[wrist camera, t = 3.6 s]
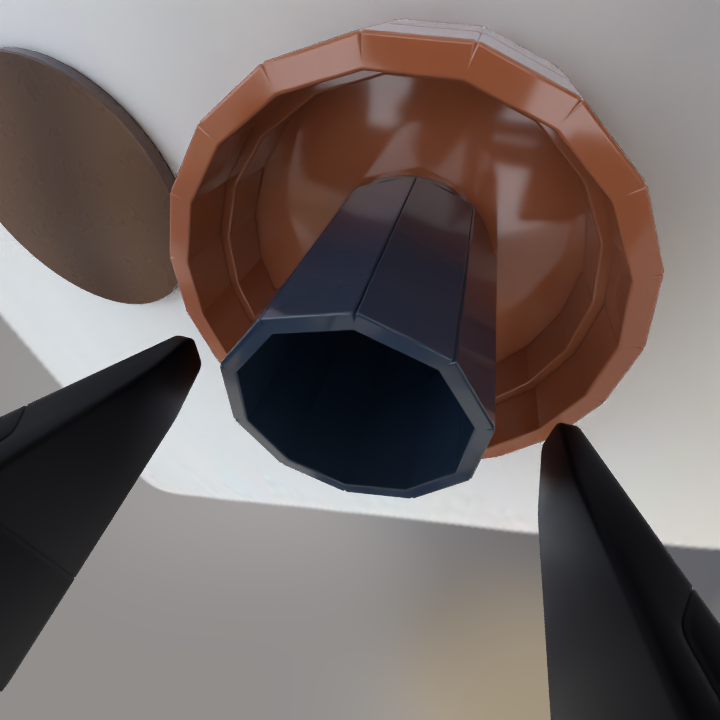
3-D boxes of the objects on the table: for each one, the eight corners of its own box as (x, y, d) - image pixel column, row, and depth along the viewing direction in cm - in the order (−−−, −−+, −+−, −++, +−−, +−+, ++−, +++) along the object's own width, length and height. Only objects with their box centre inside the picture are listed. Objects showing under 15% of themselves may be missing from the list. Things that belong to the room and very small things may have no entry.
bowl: (729, 45, 9) (853, 75, 6) (528, 408, 18) (534, 496, 15) (208, 0, 11) (90, 4, 8) (263, 349, 20) (219, 415, 17)
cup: (519, 186, 12) (535, 349, 6) (467, 344, 16) (451, 520, 11) (325, 157, 12) (195, 281, 7) (326, 315, 17) (246, 465, 11)
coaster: (150, 62, 12) (137, 65, 12) (214, 314, 19) (208, 322, 19) (-101, 33, 14) (-120, 35, 13) (42, 277, 21) (33, 284, 20)
